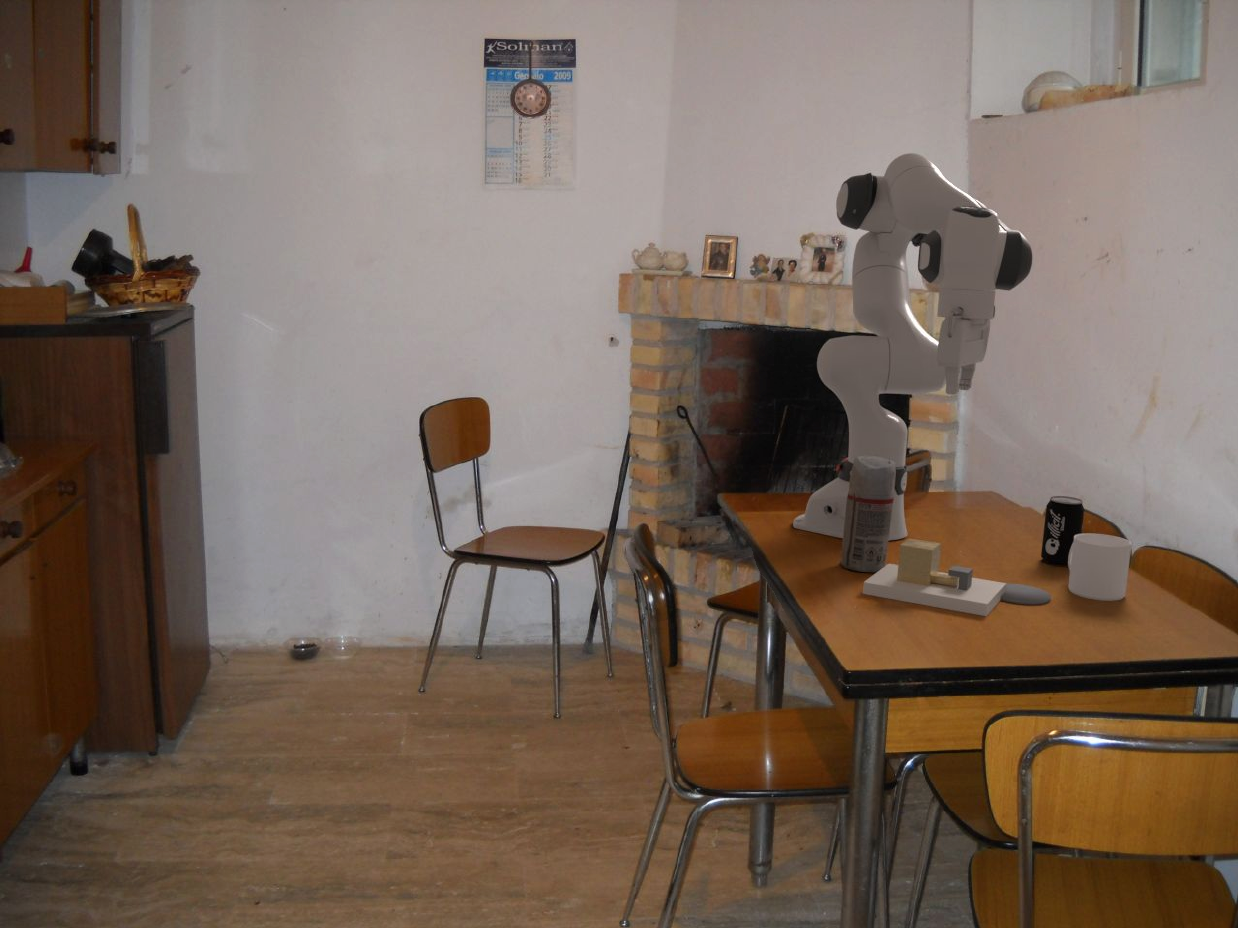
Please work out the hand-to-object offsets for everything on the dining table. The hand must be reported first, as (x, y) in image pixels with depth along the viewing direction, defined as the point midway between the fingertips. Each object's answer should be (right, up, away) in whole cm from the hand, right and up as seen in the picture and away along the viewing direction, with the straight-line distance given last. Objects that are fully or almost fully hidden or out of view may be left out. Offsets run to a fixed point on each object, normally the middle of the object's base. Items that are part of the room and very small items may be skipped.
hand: (958, 392), depth 198 cm
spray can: (-12, -31, +16) cm, 36 cm away
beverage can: (+26, -30, +24) cm, 47 cm away
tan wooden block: (-5, -31, +1) cm, 32 cm away
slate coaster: (+11, -34, +2) cm, 36 cm away
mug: (+25, -34, +7) cm, 42 cm away
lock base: (-4, -34, +1) cm, 34 cm away
